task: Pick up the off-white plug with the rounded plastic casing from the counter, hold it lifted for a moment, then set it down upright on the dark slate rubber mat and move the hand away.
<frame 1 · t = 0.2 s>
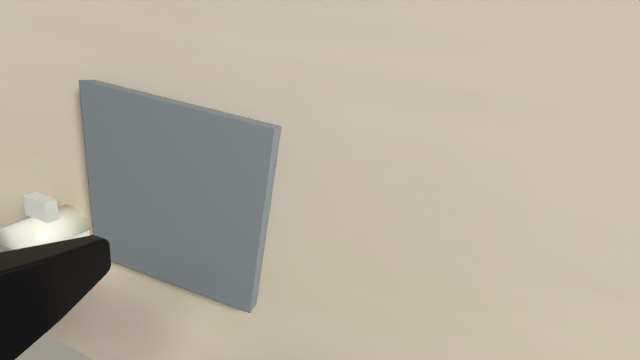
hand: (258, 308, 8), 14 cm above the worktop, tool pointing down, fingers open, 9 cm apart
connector: (75, 244, 31), on the worktop
slate mat: (179, 198, 26), on the worktop
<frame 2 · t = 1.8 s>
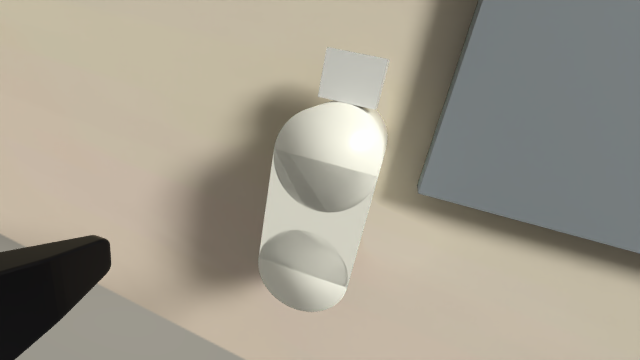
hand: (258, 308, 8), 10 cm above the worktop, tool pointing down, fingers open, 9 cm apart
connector: (337, 181, 17), on the worktop
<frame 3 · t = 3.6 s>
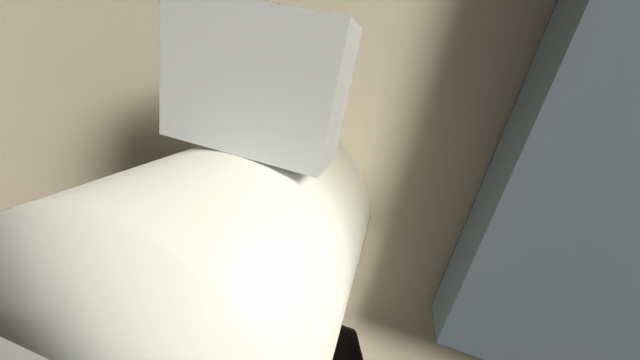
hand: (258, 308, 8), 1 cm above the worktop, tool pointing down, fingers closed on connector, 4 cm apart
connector: (275, 282, 9), on the worktop, touching gripper
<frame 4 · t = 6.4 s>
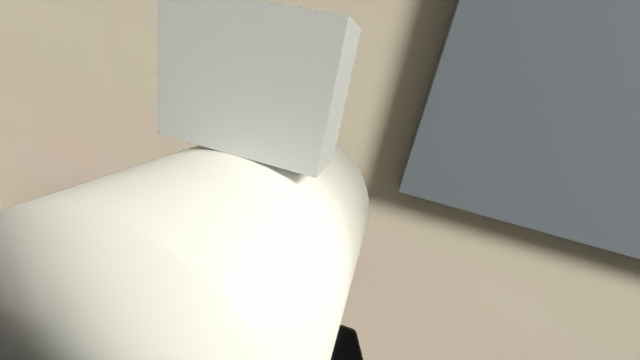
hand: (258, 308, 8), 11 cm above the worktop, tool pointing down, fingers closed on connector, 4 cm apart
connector: (274, 282, 9), point 10 cm above the worktop, touching gripper
when the fingers open (4 cm above the worktop, at t = 9.1 s): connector drops 1 cm, resting on slate mat.
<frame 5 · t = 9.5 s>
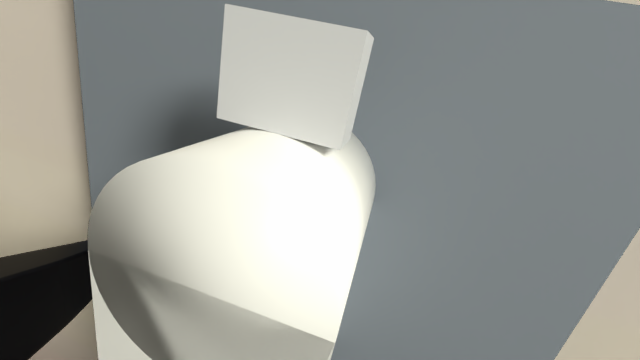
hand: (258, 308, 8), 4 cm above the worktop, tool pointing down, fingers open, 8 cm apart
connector: (292, 253, 10), point 1 cm above the worktop, touching slate mat
slate mat: (304, 236, 11), on the worktop
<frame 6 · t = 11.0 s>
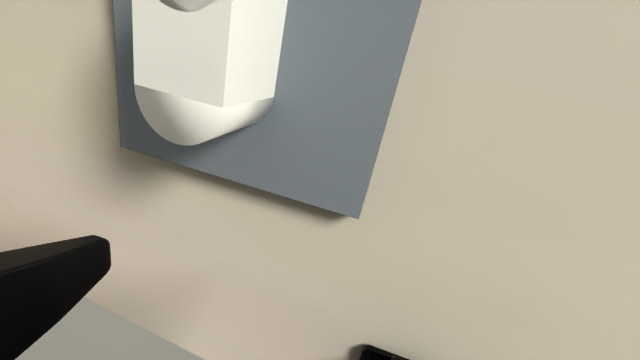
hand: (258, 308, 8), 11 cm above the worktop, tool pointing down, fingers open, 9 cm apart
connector: (244, 38, 16), point 1 cm above the worktop, touching slate mat
slate mat: (255, 40, 17), on the worktop
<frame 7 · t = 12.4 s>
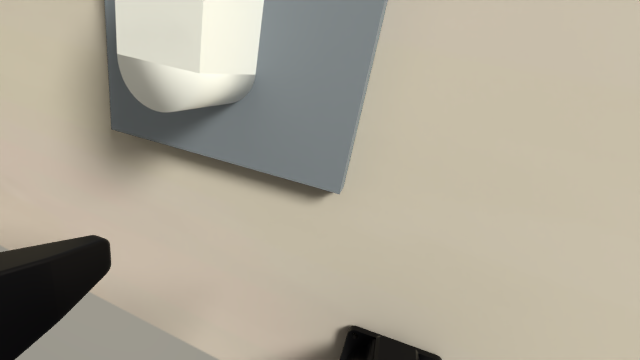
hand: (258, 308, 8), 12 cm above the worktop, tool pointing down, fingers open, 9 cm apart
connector: (226, 18, 16), point 1 cm above the worktop, touching slate mat
slate mat: (238, 22, 18), on the worktop
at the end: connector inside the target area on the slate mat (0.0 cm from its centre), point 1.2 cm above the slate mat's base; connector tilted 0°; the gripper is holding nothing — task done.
